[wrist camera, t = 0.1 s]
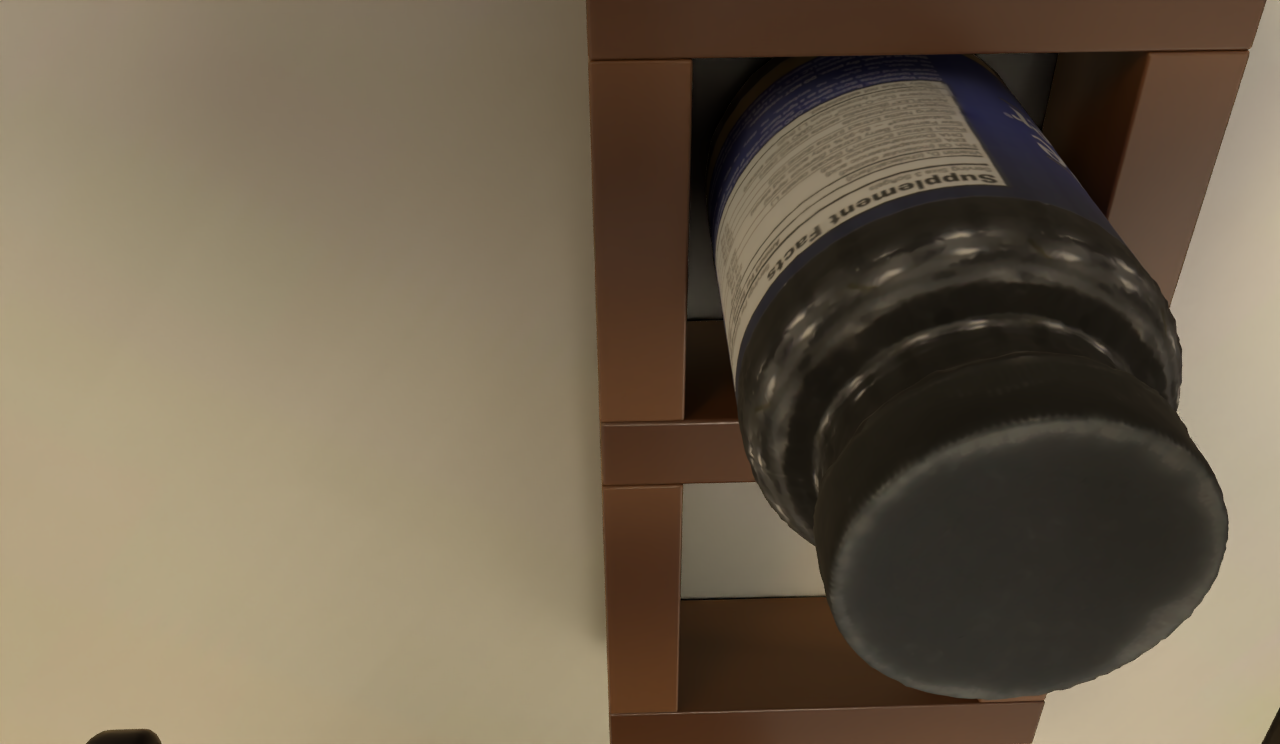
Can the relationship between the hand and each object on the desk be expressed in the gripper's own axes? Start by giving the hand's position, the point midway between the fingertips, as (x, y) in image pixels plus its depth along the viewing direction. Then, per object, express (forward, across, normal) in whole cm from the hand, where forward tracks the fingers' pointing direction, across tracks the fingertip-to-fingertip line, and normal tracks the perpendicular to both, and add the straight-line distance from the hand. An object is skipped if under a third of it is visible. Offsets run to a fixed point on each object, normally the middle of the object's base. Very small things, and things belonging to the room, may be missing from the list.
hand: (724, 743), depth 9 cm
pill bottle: (+15, -4, +2) cm, 15 cm away
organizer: (+15, -4, +6) cm, 16 cm away
